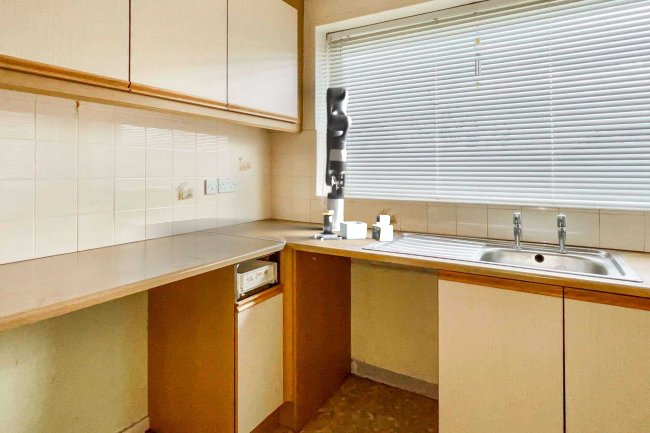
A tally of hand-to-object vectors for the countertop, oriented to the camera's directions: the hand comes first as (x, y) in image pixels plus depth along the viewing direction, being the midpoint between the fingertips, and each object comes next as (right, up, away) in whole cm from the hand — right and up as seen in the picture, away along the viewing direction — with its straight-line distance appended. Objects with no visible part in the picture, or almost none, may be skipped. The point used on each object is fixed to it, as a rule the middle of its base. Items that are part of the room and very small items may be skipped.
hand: (336, 195), depth 175 cm
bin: (+8, -21, +8) cm, 23 cm away
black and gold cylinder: (-4, -19, +3) cm, 20 cm away
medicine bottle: (+22, -21, +10) cm, 32 cm away
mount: (-4, -21, +3) cm, 21 cm away
